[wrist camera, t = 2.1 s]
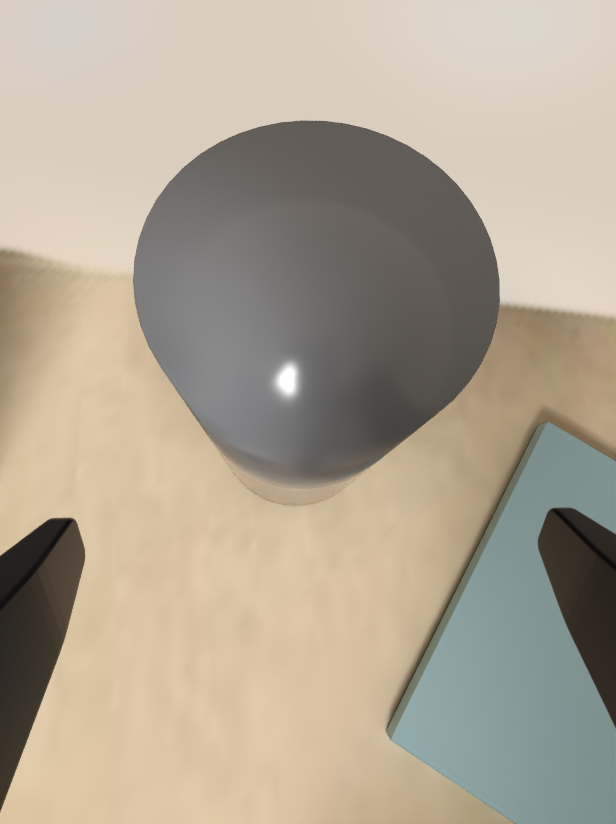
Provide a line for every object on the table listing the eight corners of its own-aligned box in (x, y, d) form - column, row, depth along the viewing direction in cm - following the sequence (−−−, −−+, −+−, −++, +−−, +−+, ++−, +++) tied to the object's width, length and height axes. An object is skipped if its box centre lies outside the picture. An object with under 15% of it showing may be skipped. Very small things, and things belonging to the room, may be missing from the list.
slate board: (677, 926, 17) (696, 944, 16) (385, 731, 18) (390, 739, 18) (789, 573, 21) (809, 574, 20) (538, 425, 22) (547, 421, 21)
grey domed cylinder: (320, 535, 20) (389, 528, 7) (191, 453, 21) (53, 318, 8) (395, 408, 22) (556, 227, 9) (273, 335, 22) (266, 68, 10)
